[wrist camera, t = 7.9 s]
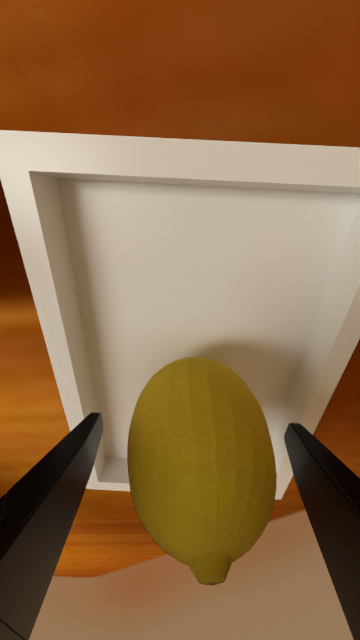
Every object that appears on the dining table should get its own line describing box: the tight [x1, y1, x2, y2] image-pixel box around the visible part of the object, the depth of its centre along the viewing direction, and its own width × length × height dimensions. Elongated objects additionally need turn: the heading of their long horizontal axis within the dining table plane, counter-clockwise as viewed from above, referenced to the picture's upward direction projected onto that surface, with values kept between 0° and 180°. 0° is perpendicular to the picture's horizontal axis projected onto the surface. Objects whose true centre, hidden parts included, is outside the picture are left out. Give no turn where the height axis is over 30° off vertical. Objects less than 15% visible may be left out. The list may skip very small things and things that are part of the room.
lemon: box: [127, 357, 277, 585], centre depth 9 cm, size 6×6×8 cm
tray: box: [0, 130, 360, 500], centre depth 12 cm, size 20×14×2 cm
